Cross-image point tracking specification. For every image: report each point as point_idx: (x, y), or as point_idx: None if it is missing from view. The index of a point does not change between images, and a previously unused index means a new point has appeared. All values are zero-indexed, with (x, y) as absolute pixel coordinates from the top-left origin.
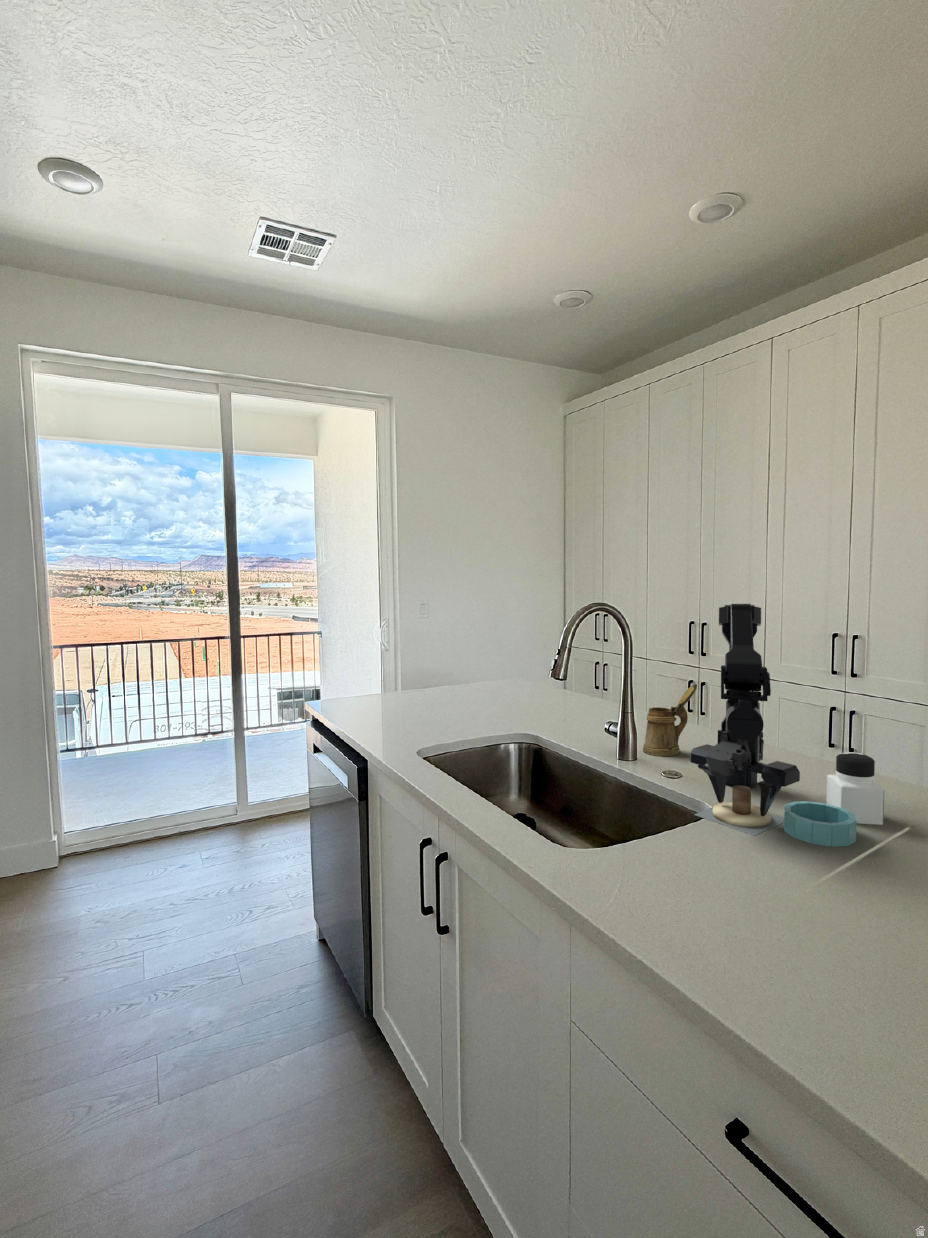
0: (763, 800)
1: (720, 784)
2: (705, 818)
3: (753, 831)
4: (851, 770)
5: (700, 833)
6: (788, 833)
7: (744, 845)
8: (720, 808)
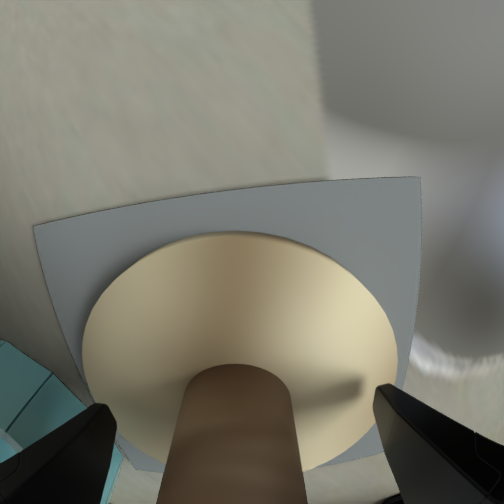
0: (31, 457)
1: (428, 482)
2: (343, 180)
3: (64, 269)
4: None
5: (216, 10)
6: (26, 364)
7: (19, 115)
8: (348, 348)
